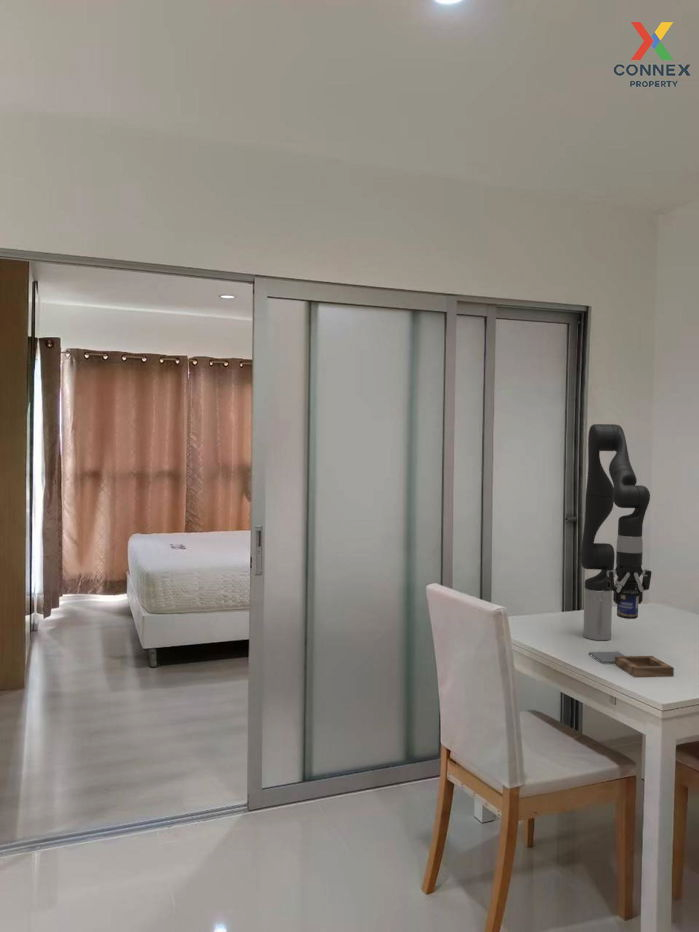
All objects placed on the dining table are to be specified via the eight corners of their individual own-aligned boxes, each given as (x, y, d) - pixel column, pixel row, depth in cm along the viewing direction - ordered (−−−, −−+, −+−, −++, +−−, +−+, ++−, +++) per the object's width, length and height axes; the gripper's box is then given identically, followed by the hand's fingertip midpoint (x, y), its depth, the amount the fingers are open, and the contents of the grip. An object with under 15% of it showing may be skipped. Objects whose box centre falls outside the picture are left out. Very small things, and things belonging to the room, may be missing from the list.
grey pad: (588, 654, 232) (588, 652, 232) (617, 653, 233) (617, 651, 233) (602, 663, 222) (602, 661, 222) (633, 663, 223) (633, 660, 223)
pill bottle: (614, 617, 221) (615, 582, 221) (619, 613, 226) (620, 578, 226) (635, 620, 218) (637, 584, 217) (639, 616, 223) (641, 581, 223)
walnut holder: (615, 664, 221) (615, 656, 221) (651, 663, 223) (652, 655, 223) (634, 677, 209) (635, 668, 209) (673, 676, 211) (673, 667, 211)
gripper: (644, 547, 226) (643, 600, 227) (601, 548, 224) (599, 601, 225) (658, 551, 218) (656, 606, 219) (613, 552, 217) (611, 607, 217)
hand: (627, 603), depth 222 cm, fingers closed on pill bottle, 6 cm apart
